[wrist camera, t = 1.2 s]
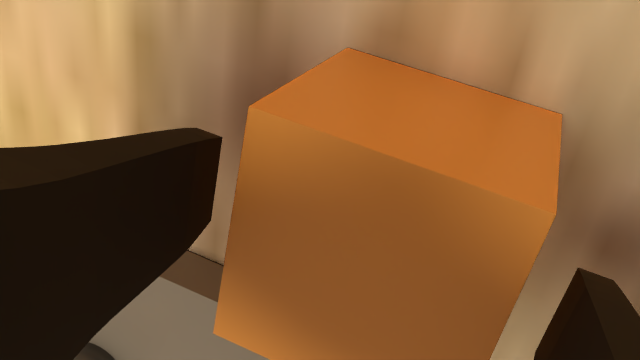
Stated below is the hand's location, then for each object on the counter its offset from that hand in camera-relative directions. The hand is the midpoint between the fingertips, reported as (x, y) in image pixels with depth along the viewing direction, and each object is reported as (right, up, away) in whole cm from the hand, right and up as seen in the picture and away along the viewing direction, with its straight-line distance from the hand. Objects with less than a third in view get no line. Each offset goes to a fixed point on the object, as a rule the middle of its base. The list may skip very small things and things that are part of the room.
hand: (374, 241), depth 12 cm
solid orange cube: (+1, +1, +3) cm, 4 cm away
